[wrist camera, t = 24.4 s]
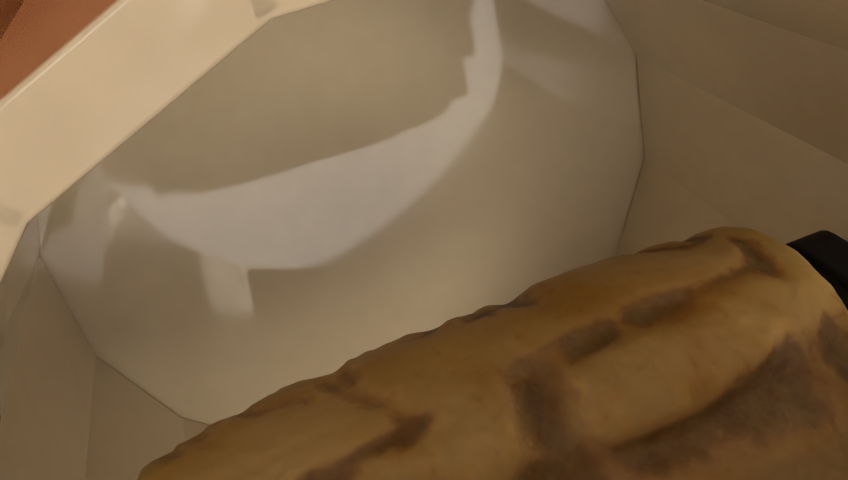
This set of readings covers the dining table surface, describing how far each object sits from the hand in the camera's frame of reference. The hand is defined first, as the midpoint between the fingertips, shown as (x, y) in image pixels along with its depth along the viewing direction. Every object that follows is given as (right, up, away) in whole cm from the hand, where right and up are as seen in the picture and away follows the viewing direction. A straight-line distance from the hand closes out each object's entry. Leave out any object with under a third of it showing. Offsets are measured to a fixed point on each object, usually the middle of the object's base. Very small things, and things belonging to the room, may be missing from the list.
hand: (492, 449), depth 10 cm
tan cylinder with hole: (0, +1, +1) cm, 1 cm away
